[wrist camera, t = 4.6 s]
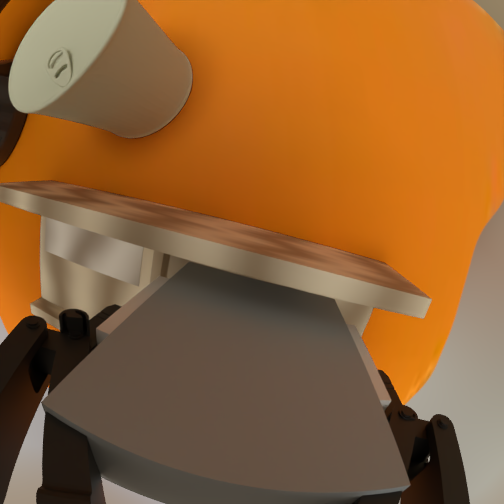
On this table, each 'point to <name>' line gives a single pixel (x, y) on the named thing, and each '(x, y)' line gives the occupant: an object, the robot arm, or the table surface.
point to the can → (100, 68)
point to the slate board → (232, 398)
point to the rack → (184, 254)
